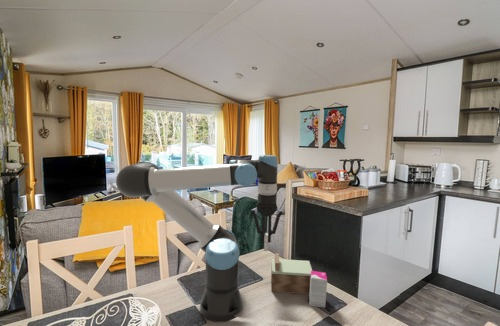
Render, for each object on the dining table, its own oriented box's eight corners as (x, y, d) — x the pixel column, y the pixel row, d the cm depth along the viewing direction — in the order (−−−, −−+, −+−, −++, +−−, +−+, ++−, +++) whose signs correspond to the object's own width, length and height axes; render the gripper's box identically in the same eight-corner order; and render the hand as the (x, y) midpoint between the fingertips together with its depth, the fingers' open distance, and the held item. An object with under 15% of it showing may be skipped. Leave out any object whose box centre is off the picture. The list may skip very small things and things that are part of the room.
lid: (272, 273, 102) (272, 264, 102) (271, 260, 113) (272, 251, 112) (313, 276, 101) (313, 266, 100) (308, 263, 112) (309, 254, 111)
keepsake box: (271, 293, 103) (271, 274, 102) (271, 279, 114) (271, 261, 113) (312, 296, 101) (313, 277, 101) (308, 281, 112) (308, 263, 112)
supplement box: (325, 310, 94) (327, 280, 92) (308, 307, 95) (310, 277, 94) (324, 300, 99) (326, 272, 98) (308, 298, 100) (310, 270, 99)
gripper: (250, 194, 102) (249, 252, 104) (284, 195, 101) (282, 254, 103) (251, 190, 109) (250, 245, 111) (283, 192, 108) (281, 246, 110)
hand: (265, 249), depth 107 cm, fingers closed
